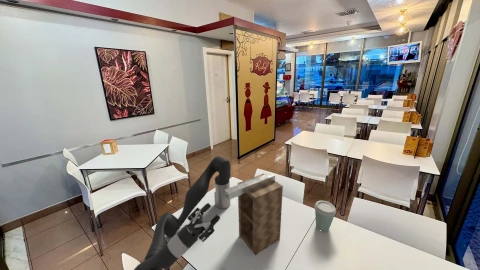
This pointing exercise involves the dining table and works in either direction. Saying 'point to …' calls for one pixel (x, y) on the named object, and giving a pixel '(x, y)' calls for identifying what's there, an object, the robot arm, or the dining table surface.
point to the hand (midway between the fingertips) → (214, 209)
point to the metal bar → (249, 186)
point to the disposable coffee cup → (324, 215)
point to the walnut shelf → (260, 215)
